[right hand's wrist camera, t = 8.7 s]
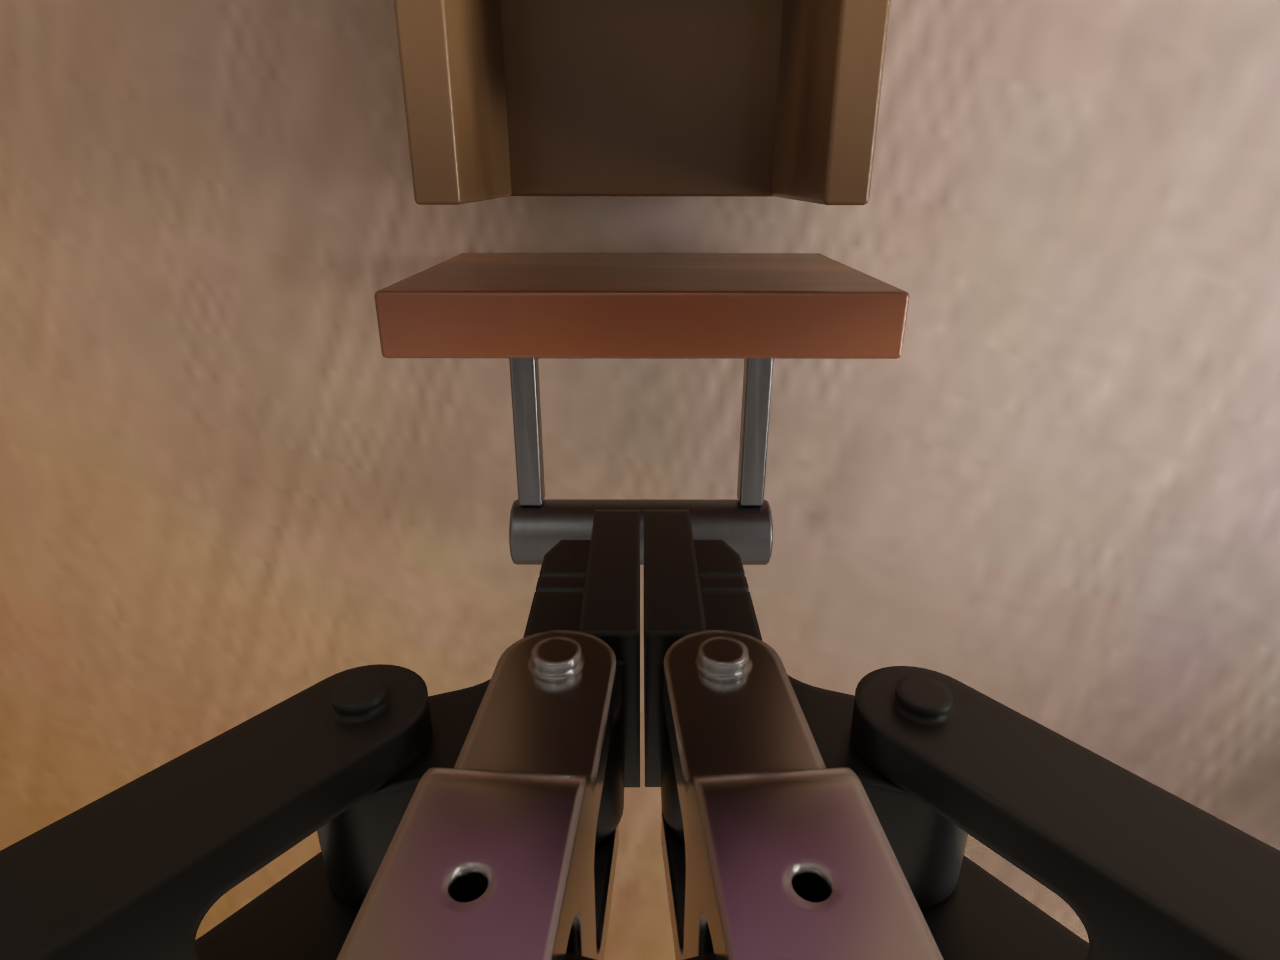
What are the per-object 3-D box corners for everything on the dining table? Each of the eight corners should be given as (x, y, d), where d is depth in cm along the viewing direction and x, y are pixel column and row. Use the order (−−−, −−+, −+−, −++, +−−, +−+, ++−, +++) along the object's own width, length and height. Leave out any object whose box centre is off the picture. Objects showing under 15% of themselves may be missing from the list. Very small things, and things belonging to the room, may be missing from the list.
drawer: (798, 512, 22) (863, 649, 16) (482, 511, 22) (418, 649, 16) (909, -732, 13) (1164, -1591, 7) (376, -733, 13) (128, -1595, 7)
